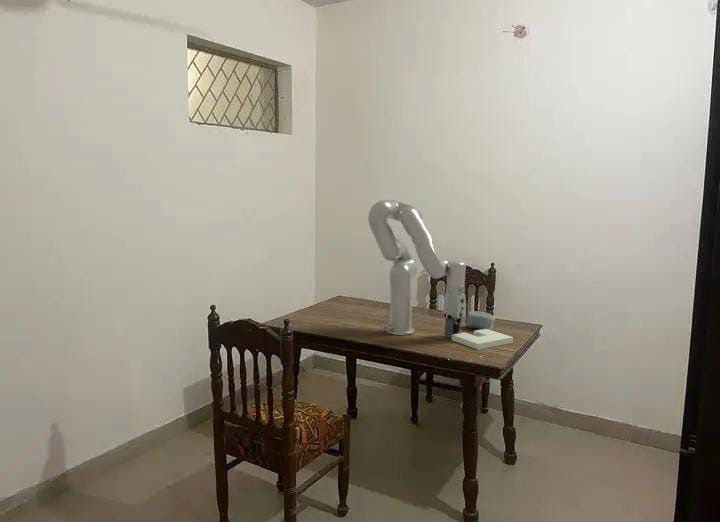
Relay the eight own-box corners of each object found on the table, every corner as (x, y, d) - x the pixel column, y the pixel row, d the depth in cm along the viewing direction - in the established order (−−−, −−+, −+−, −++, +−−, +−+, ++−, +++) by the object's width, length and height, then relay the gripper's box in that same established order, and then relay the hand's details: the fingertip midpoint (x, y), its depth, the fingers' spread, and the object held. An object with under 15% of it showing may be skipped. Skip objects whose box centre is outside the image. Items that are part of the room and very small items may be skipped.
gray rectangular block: (450, 338, 238) (452, 320, 237) (444, 335, 242) (445, 318, 240) (457, 337, 240) (459, 319, 239) (451, 335, 244) (452, 317, 243)
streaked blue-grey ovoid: (458, 321, 256) (468, 302, 256) (466, 327, 263) (477, 308, 263) (482, 334, 247) (493, 314, 247) (490, 339, 254) (501, 320, 255)
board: (478, 349, 223) (478, 343, 223) (451, 340, 236) (451, 334, 236) (513, 342, 233) (513, 337, 233) (485, 334, 247) (486, 328, 247)
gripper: (475, 292, 233) (472, 335, 236) (449, 285, 247) (446, 325, 250) (461, 294, 229) (458, 337, 232) (436, 286, 243) (433, 327, 246)
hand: (452, 330), depth 241 cm, fingers closed on gray rectangular block, 4 cm apart
